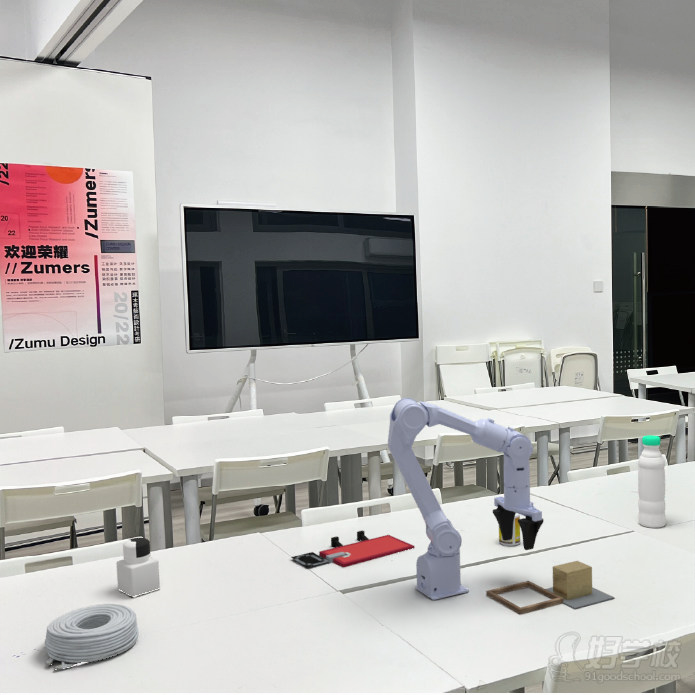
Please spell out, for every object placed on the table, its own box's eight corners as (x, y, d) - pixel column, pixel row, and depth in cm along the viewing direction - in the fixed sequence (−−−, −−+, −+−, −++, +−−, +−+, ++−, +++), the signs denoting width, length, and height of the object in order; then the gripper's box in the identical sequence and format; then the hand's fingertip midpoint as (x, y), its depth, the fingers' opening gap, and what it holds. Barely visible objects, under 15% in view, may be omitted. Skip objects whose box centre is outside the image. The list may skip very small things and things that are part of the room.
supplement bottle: (516, 539, 205) (515, 501, 204) (523, 545, 199) (522, 507, 198) (496, 540, 204) (495, 503, 203) (502, 547, 198) (501, 508, 198)
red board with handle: (286, 558, 196) (317, 576, 184) (286, 548, 196) (317, 565, 183) (380, 536, 213) (414, 551, 200) (380, 526, 213) (414, 540, 200)
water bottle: (667, 522, 214) (667, 434, 212) (663, 529, 208) (662, 439, 206) (641, 519, 218) (640, 433, 216) (635, 526, 212) (635, 437, 210)
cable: (46, 676, 139) (44, 644, 138) (44, 638, 155) (42, 609, 154) (144, 656, 145) (142, 625, 145) (132, 621, 161) (131, 593, 161)
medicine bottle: (144, 582, 183) (142, 533, 182) (160, 589, 178) (157, 539, 177) (117, 591, 178) (114, 540, 177) (132, 599, 173) (129, 547, 172)
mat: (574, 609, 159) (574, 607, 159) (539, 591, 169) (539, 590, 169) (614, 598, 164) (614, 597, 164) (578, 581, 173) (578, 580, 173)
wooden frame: (520, 614, 157) (519, 609, 157) (486, 595, 168) (486, 590, 168) (563, 602, 162) (563, 598, 162) (528, 584, 173) (528, 580, 173)
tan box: (567, 600, 163) (566, 572, 162) (553, 593, 167) (552, 566, 166) (592, 593, 166) (591, 566, 165) (577, 586, 170) (577, 560, 169)
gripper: (552, 489, 167) (553, 550, 168) (510, 476, 180) (512, 532, 181) (526, 494, 164) (527, 556, 164) (486, 480, 177) (487, 537, 178)
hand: (517, 544), depth 172 cm, fingers open, 7 cm apart
